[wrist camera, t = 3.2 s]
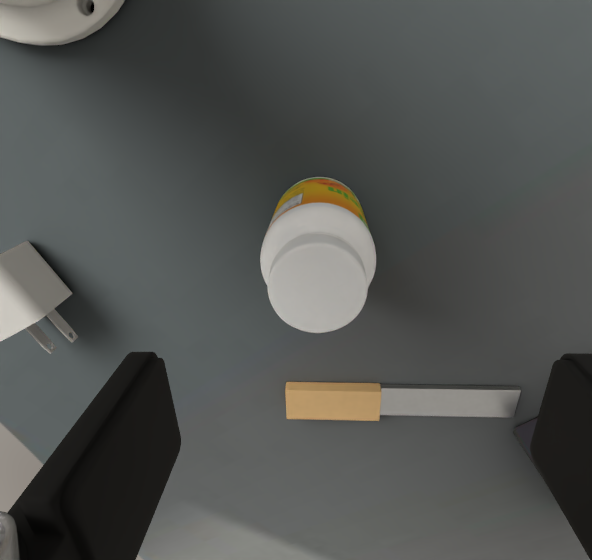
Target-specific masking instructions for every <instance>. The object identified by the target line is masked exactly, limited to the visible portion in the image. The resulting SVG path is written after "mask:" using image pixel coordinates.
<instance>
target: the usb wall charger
mask: <svg viewBox="0 0 592 560" xmlns="http://www.w3.org/2000/svg"><path fill="white" fill-rule="evenodd" d="M72 294H73V293H72V292H71V291H70V289H69V288H68V287H67V286H66V285H65V284H64V282H63V281H62V280H61V279H60V278H59V277H58V275H57V274H56V273H55V272H54V271H53V270H52V268H51V267H50V266H49V265H48V264H47V263H46V261H45V260H44V259H43V258H42V257H41V256H40V254H39V253H38V252H37V251H36V250H35V248H34V247H33V246H32V245H31V244H30V243H29V241H25V242H23V243H21V244H19V245H17V246H15V247H13V248H11V249H9V250H8V251H6V252H4V253H2V254H0V341H2V340H4V339H6V338H8V337H10V336H12V335H13V334H15V333H17V332H19V331H21V330H23V329H26V330H27V331H28V332H29V333H30V335H31V336H32V337H33V338H34V339H35V340H36V341H37V342H38V343H39V344H40V345H41V346H42V347H43V348H44V349H45V350H46V351H47V352H48V353H50V354H51V353H52V352H53V351H54V350H55V349H56V346H55V345H54V344H53V343H52V341H51V340H50V339H49V338H48V337H47V336H46V334H45V333H44V332H43V331H42V330H41V329H40V328H39V327H38V326H37V325H36V324H35V322H37V321H39V320H40V319H41V318H43V317H44V316H47V317H48V318H49V319H50V320H51V322H52V323H53V324H54V325H55V326H56V327H57V328H58V329H59V330H60V331H61V333H62V334H63V335H64V336H65V337H66V338H67V339H68V340H69V341H71V342H72V343H73V342H74V341H75V340H76V339H77V338H78V336H77V335H76V333H75V332H74V331H73V329H72V328H71V327H70V326H69V325H68V323H67V322H66V321H65V320H64V319H63V318H62V317H61V316H60V314H59V313H58V312H57V311H56V310H55V309H54V308H56V307H57V306H58V305H59V304H61V303H62V302H63V301H64V300H65V299H67V298H68V297H69V296H70V295H72ZM69 332H70V333H72V334H73V338H70V337H69ZM47 344H50V345H51V346H52V349H48V348H47Z"/></svg>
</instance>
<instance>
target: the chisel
mask: <svg viewBox="0 0 592 560" xmlns="http://www.w3.org/2000/svg"><path fill="white" fill-rule="evenodd" d="M520 393H521V390H520V388H519V387H518V386H466V385H397V384H380V383H331V382H286V389H285V394H286V413H287V419H313V420H362V421H379V418H380V415H407V416H458V417H510V418H513V417H514V415H515V411H516V408H517V404H518V400H519V397H520Z"/></svg>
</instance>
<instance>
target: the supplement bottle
mask: <svg viewBox="0 0 592 560" xmlns="http://www.w3.org/2000/svg"><path fill="white" fill-rule="evenodd" d="M260 264H261V271H262V275H263V278H264V280H265V282H266V284H267V286H268V295H269V299H270V302H271V305H272V307H273V309H274V310H275V312H276V313H277V314H278V315H279V317H280V318H281V319H282V320H284V321H285V322H286V323H287V324H289V325H290V326H292V327H294V328H297V329H299V330H302V331H306V332H312V333H323V332H329V331H334V330H337V329H339V328H341V327H343V326H345V325H347V324H348V323H350V322H351V321H352V320H353V319H354V318H355V317H356V316H357V315H358V314H359V312H360V311H361V309H362V308H363V306H364V303H365V301H366V297H367V291H368V287H369V285H370V283H371V281H372V279H373V276H374V273H375V268H376V250H375V245H374V242H373V239H372V236H371V233H370V231H369V228H368V225H367V222H366V219H365V216H364V213H363V210H362V207H361V205H360V202H359V200H358V199H357V197H356V196H355V194H354V193H353V192H352V191H351V190H350V189H349V188H348V187H347V186H346V185H344V184H343V183H341V182H339V181H337V180H335V179H331V178H327V177H312V178H308V179H305V180H302V181H300V182H298V183H296V184H295V185H293V186H292V187H291V188H289V189H288V190H287V191H286V192H285V193H284V195H283V196H282V198H281V199H280V201H279V203H278V205H277V207H276V209H275V212H274V215H273V217H272V220H271V222H270V225H269V228H268V230H267V233H266V235H265V238H264V241H263V244H262V248H261V254H260Z"/></svg>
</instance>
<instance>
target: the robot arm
mask: <svg viewBox="0 0 592 560" xmlns="http://www.w3.org/2000/svg"><path fill="white" fill-rule="evenodd" d="M124 1H125V0H0V37H1V38H5V39H8V40H12V41H15V42H19V43H26V44H33V45H39V46H45V45H63V44H67V43H70V42H74V41H77V40H80V39H83V38H85V37H87V36H88V35H90V34H92V33H94V32H95V31H97V30H99V29H100V28H102V27H103V26H104V25H105V24H106V23H107V22H108V21H109V20H110V19H111V18H112V17H113V16H114V15H115V14H116V13H117V12H118V11H119V9H120V7H121V6H122V4H123V3H124ZM92 3H94V11H93V13H92V11H91V4H92ZM180 446H181V436H180V432H179V427H178V422H177V418H176V413H175V409H174V404H173V400H172V395H171V391H170V386H169V382H168V377H167V372H166V368H165V363H164V360H163V359H162V358H158V357H157V355H156V354H155V353H154V352H131V353H129V354H128V355H127V356H126V357H125V359H124V360H123V361H122V363H121V364H120V365H119V367H118V368H117V369H116V371H115V372H114V373H113V375H112V376H111V377H110V378H109V380H108V381H107V382H106V384H105V385H104V386H103V388H102V389H101V390H100V392H99V393H98V394H97V396H96V397H95V398H94V400H93V401H92V402H91V404H90V405H89V406H88V407H87V409H86V410H85V411H84V413H83V414H82V415H81V417H80V418H79V419H78V421H77V422H76V423H75V425H74V426H73V427H72V429H71V430H70V431H69V432H68V434H67V435H66V436H65V438H64V439H63V440H62V442H61V443H60V444H59V446H58V447H57V448H56V450H55V451H54V452H53V454H52V455H51V456H50V457H49V459H48V460H47V461H46V463H45V464H44V465H43V467H42V468H41V469H40V471H39V472H38V474H37V475H36V476H35V477H34V479H33V480H32V481H31V483H30V484H29V485H28V487H27V488H26V489H25V490H24V492H23V493H22V495H21V496H20V497H19V498H18V500H17V501H16V502H15V504H14V505H13V506H12V508H11V509H10V510H9V512H8V513H6V512H0V560H135V559H136V557H137V555H138V552H139V550H140V547H141V545H142V542H143V540H144V537H145V535H146V532H147V530H148V527H149V525H150V523H151V520H152V518H153V515H154V513H155V510H156V508H157V505H158V503H159V500H160V498H161V495H162V493H163V491H164V488H165V486H166V483H167V481H168V478H169V476H170V473H171V471H172V468H173V466H174V463H175V461H176V458H177V456H178V454H179V451H180ZM530 451H531V456H532V459H533V461H534V463H535V464H536V466H537V468H538V470H539V471H540V473H541V475H542V477H543V478H544V480H545V482H546V484H547V485H548V487H549V489H550V490H551V492H552V494H553V496H554V497H555V499H556V501H557V503H558V504H559V506H560V508H561V510H562V511H563V513H564V515H565V517H566V518H567V520H568V522H569V523H570V525H571V527H572V529H573V530H574V532H575V534H576V536H577V537H578V539H579V541H580V543H581V544H582V546H583V548H584V549H585V551H586V553H587V555H588V556H589V558H590V560H592V354H564V355H563V356H562V357H561V359H560V360H556V361H555V362H554V364H553V366H552V370H551V373H550V377H549V380H548V384H547V387H546V391H545V394H544V398H543V401H542V405H541V408H540V412H539V415H538V419H537V422H536V426H535V429H534V433H533V436H532V440H531V444H530Z"/></svg>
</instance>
